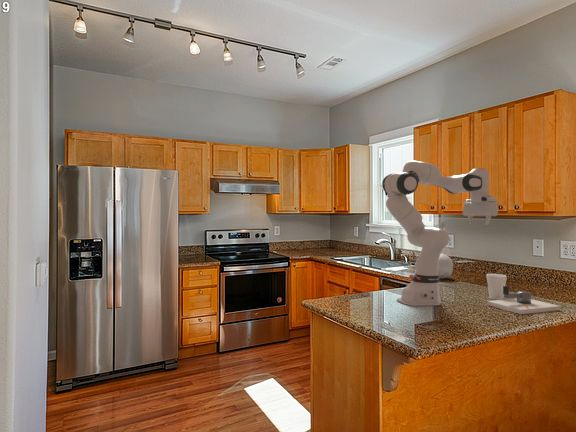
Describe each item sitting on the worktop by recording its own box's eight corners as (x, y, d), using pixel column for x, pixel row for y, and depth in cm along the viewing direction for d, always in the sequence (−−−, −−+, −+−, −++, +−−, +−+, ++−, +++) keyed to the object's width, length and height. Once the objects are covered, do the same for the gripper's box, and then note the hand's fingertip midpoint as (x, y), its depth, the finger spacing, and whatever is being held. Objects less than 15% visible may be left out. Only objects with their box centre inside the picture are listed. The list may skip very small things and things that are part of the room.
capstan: (522, 300, 186) (523, 283, 185) (534, 303, 180) (534, 285, 180) (498, 302, 180) (498, 284, 180) (509, 305, 175) (509, 287, 175)
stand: (519, 314, 167) (520, 309, 167) (487, 304, 185) (487, 300, 185) (559, 310, 176) (560, 305, 176) (525, 301, 193) (525, 297, 193)
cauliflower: (426, 264, 284) (428, 241, 272) (456, 279, 267) (460, 256, 255) (409, 277, 274) (411, 254, 263) (439, 293, 257) (443, 270, 245)
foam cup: (495, 301, 192) (496, 276, 192) (482, 297, 201) (482, 274, 201) (510, 300, 195) (510, 276, 195) (496, 296, 204) (496, 273, 204)
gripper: (460, 199, 205) (459, 223, 205) (491, 197, 185) (490, 225, 185) (468, 199, 207) (468, 223, 207) (500, 198, 187) (500, 225, 187)
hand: (479, 224), depth 196 cm, fingers open, 8 cm apart
